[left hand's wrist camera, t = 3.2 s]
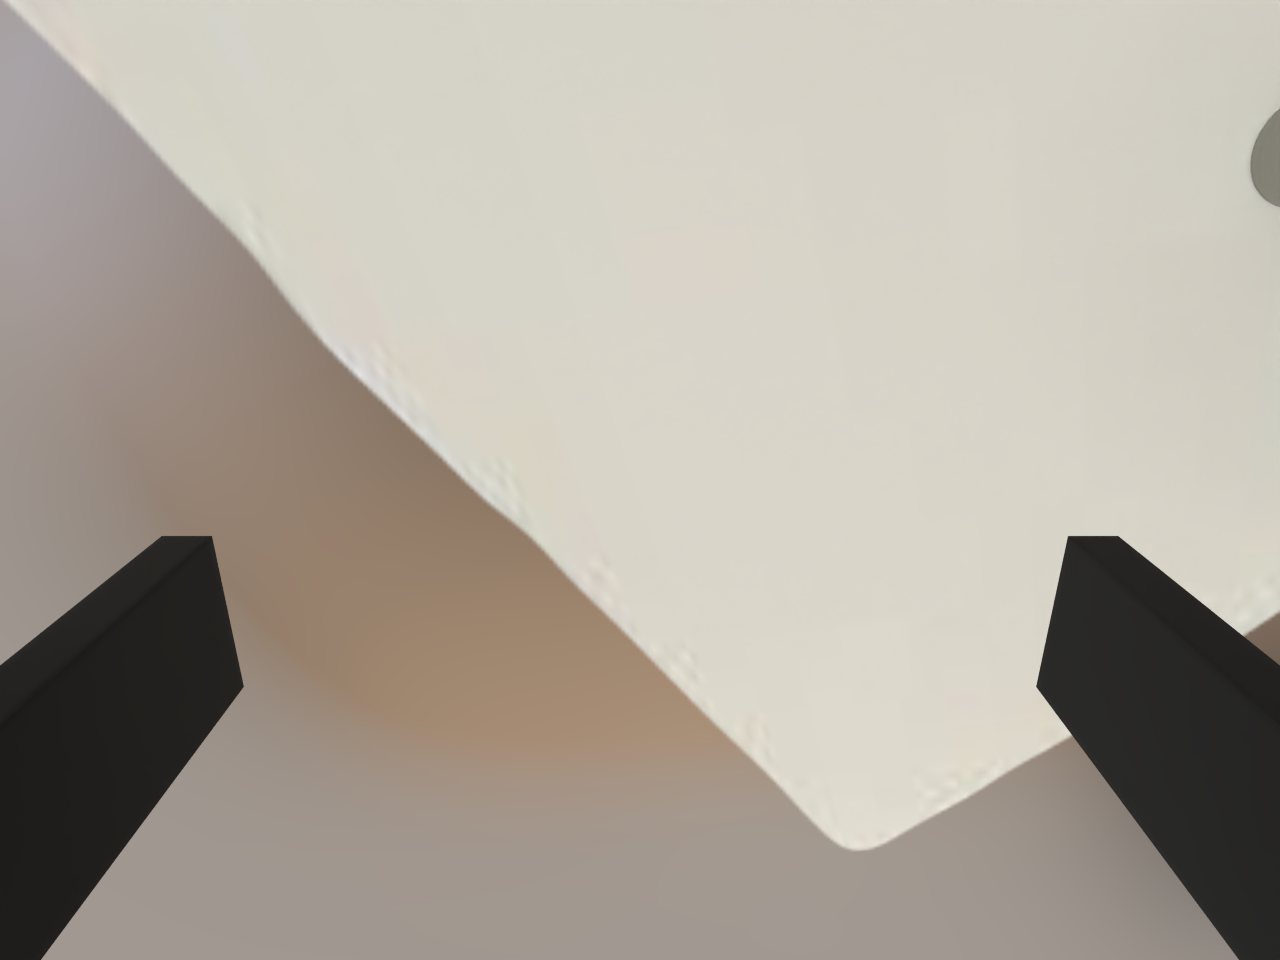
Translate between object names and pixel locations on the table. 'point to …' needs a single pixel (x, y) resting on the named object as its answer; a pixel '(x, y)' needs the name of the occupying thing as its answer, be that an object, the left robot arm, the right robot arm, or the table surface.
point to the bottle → (1268, 161)
